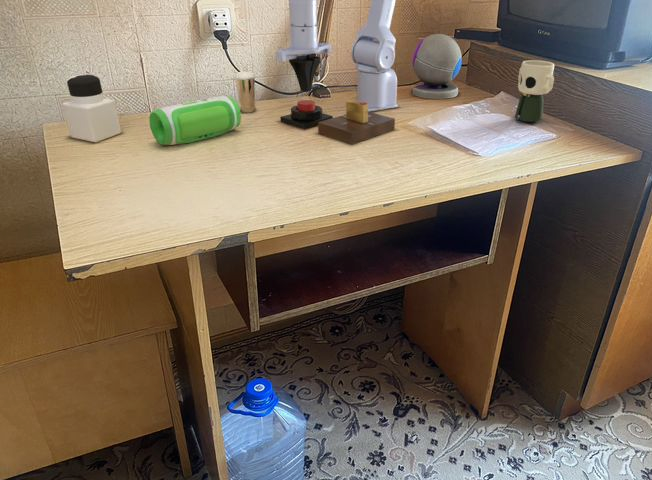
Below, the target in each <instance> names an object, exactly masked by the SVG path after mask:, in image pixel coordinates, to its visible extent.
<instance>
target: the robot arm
mask: <svg viewBox="0 0 652 480" xmlns="http://www.w3.org/2000/svg"><path fill="white" fill-rule="evenodd" d="M396 2H397V0H371V1H370V7H369V11H368V16H367V20H366V24H365V25H364V26H363V27H362V28H360V29H359V30H358V32H357V36H356V38H355V41H354V43H353V44H352V46H351V52H350V55H351V60H352V61H353V63H354V64H355V69H357V87H356V90H357V94H356V101H358V102H365V103H367V104H368V112H376V111H377V112H378V111H382V110H388V109H393V108H394V109H395V108H398V107H399V105H398V104H397V96H398V95H397V93H398V77H397V74H396V71H395V70H394V69H392V66H393V65H394V62H395V58H396V49H395V48H396V47H395V46H396V43H397V42H396V41H397V39H396V38H395V36H394V34H393V33H392V32H391V30H390V29H391V25H392V20H393V15H394V10H395V5H396ZM317 3H318V2H317V0H288V9H289V10H288V11H289V13H288V14H289V31H290V32H289V34H290V46H288V47H284V48H282V49H278V50H275V61H277V62H283V63H284V62H286V61H288V63H289V64H290V66H291V68H292V69H293V72H294V74H295V76H296V79H297V82H298V87H299V90H300V91H301V92H304V93H309V92H311V91H312V88H313V83H314V78H315V75H316V73H317V70H318V67H319V65H320V64H321V61H322V60H321V59H322V58H321V57H320V56H317V55H323V54H331V53H332V43H328V42H320V43H319V42H318V7H317V5H318V4H317Z"/></svg>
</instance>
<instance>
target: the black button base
mask: <svg viewBox="0 0 652 480" xmlns="http://www.w3.org/2000/svg"><path fill="white" fill-rule="evenodd" d="M331 118H334V116H333V115H330V114H327V113H324V112H323V108H322V106H320V105H316V104H315V110H314V111H299V110H298V106H297V105H293V106H292V107H291V108H290V114H286V115H282V116H280V123H283V124H286V125H288V126H289V125H290V126H292V127H296V128H298V129H302V130H308V129H310V128H315V127H318V122H321V121H324V120H328V119H331Z"/></svg>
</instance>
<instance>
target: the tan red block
mask: <svg viewBox="0 0 652 480" xmlns="http://www.w3.org/2000/svg"><path fill="white" fill-rule="evenodd" d="M345 106H346V107H345V108H346V109H345V112H346V113H345V114H346V119H350V120H353V121H357V122H360V123H366V122H368V104H367V103H365V102H358V101H357V100H354V99H349V100H346V103H345Z"/></svg>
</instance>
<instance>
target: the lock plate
mask: <svg viewBox="0 0 652 480" xmlns="http://www.w3.org/2000/svg"><path fill="white" fill-rule="evenodd" d="M395 123H396V118H394V117H390V116H386V115H383V114H379V113H376V112H373V111H371V112H368V122H366V123H360V122H357V121H353V120H350V119H346V113H345V114H342V115H338V116H334V117H333V118H331V119H328V120H324V121H321V122H318V126H317V134H318V135H321V136H324V137H327V138H331V139H334V140H337V141H339V142H343V143H346V144H349V145H354V144H357V143H360V142H363V141H366V140H369V139H372V138H375V137H377V136H380V135H384V134H386V133H389V132H392V131H395V127H396V126H395V125H396V124H395Z"/></svg>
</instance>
